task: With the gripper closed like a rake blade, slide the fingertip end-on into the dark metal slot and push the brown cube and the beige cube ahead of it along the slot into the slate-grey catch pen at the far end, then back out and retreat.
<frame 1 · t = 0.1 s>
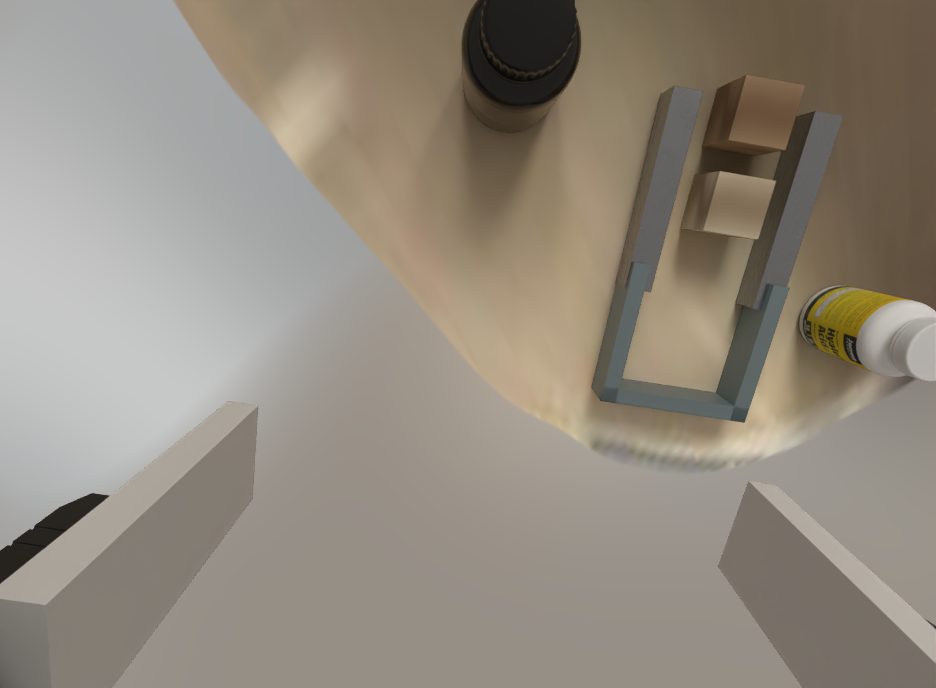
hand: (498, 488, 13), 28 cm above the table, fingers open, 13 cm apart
supplement bottle 2: (828, 317, 41), on the table
beige cube: (711, 206, 38), on the table
catch pen: (676, 336, 41), on the table
supplement bottle: (509, 83, 36), on the table
brown cube: (735, 123, 37), on the table
slot rails: (712, 206, 38), on the table
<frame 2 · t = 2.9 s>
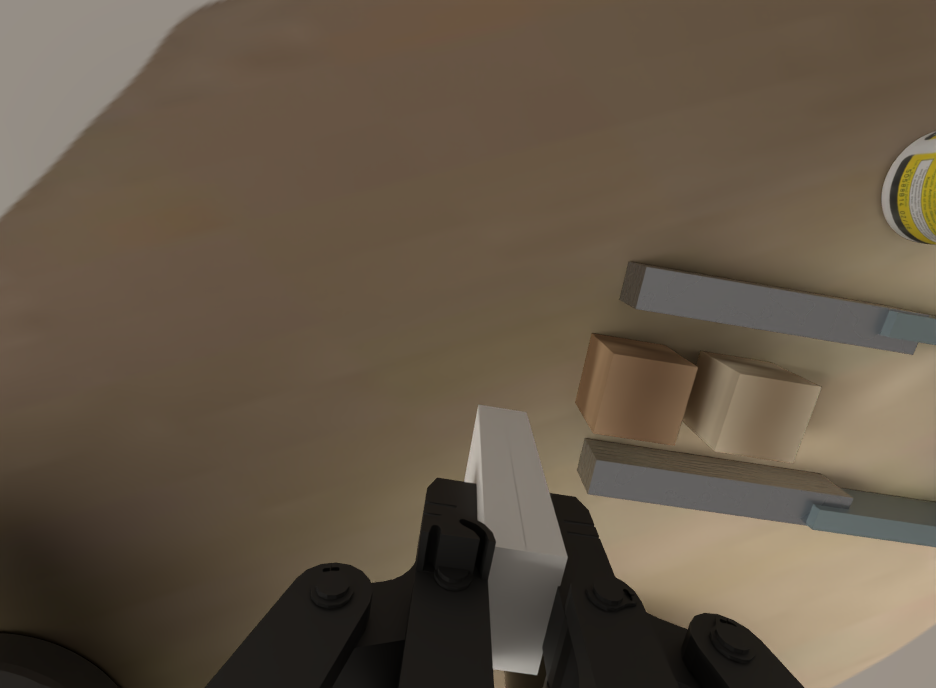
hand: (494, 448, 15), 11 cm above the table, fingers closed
supplement bottle 2: (927, 188, 25), on the table
beige cube: (723, 390, 27), on the table
catch pen: (904, 419, 28), on the table
supplement bottle: (553, 624, 31), on the table
brown cube: (618, 373, 27), on the table
slot rails: (725, 391, 27), on the table
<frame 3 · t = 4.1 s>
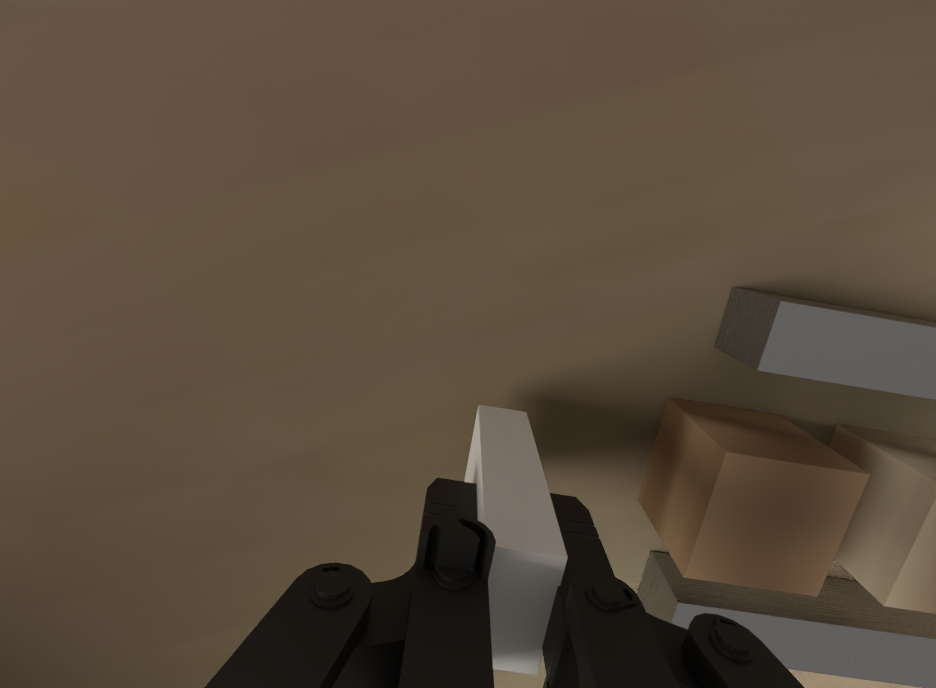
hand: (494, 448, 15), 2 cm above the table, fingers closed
beige cube: (867, 482, 18), on the table
brown cube: (706, 457, 18), on the table
slot rails: (870, 484, 18), on the table
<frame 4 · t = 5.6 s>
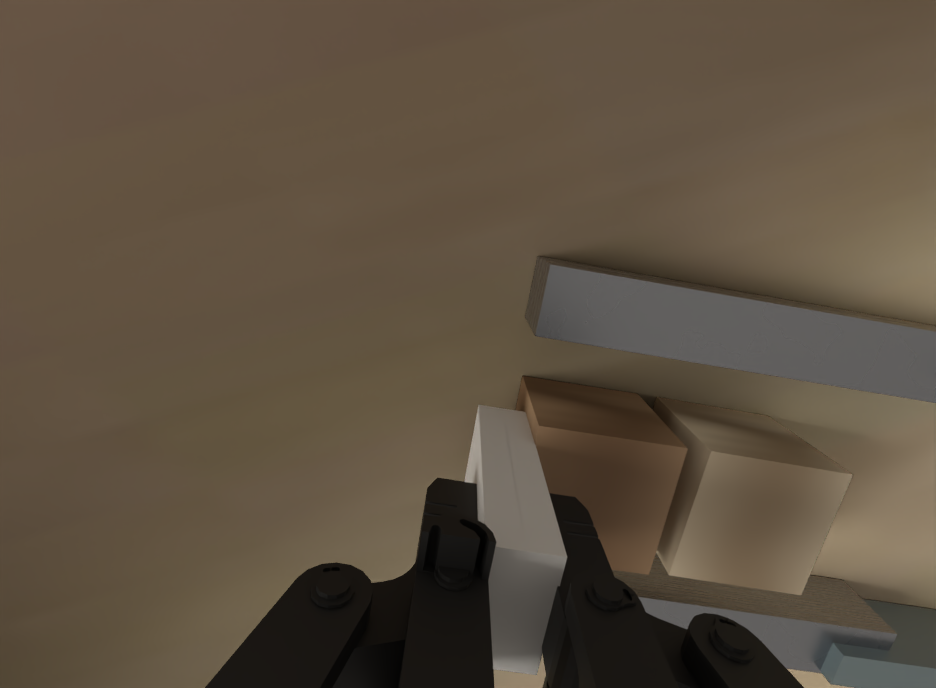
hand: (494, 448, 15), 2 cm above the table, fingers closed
beige cube: (694, 456, 18), on the table
brown cube: (567, 438, 17), on the table, touching gripper
slot rails: (696, 458, 18), on the table
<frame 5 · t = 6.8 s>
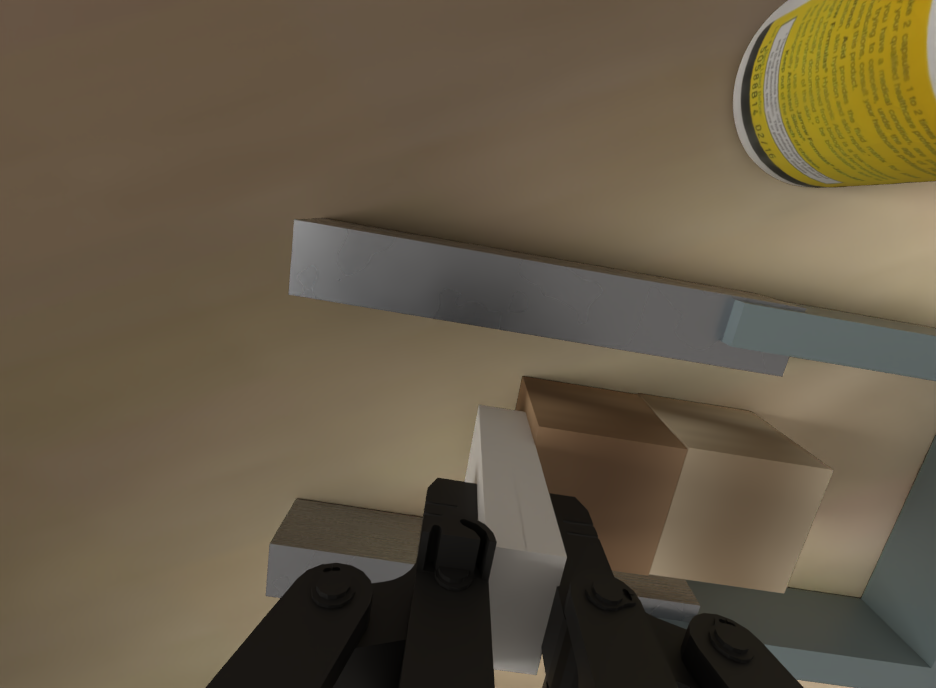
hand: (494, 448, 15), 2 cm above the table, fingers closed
supplement bottle 2: (815, 93, 15), on the table
beige cube: (678, 454, 17), on the table
catch pen: (795, 474, 18), on the table
brown cube: (567, 438, 17), on the table, touching gripper
slot rails: (506, 428, 17), on the table
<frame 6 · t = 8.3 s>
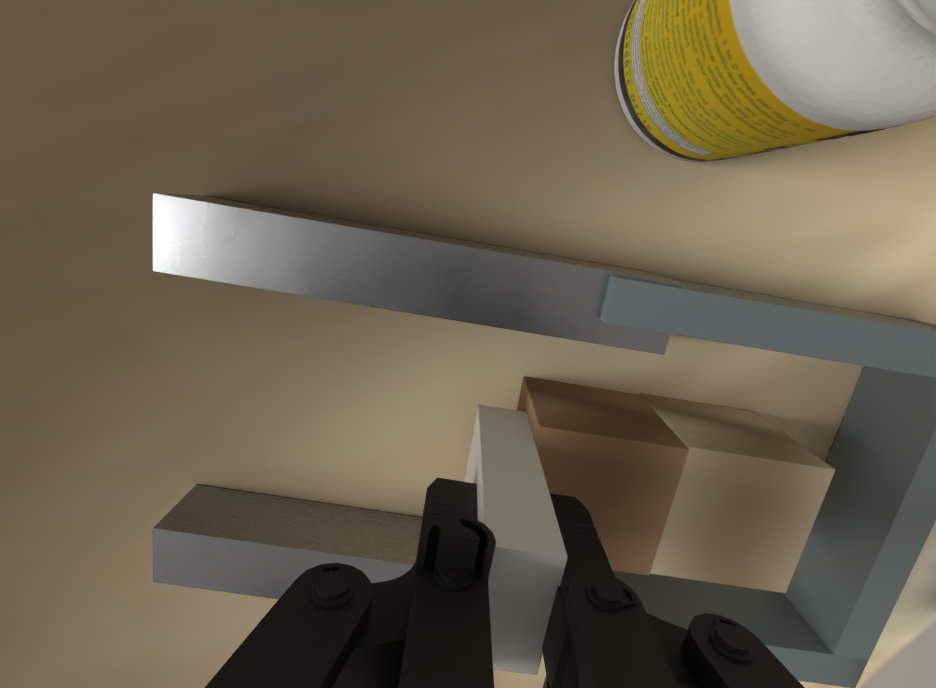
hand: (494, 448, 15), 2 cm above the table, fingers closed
supplement bottle 2: (702, 65, 14), on the table
beige cube: (679, 453, 17), on the table
catch pen: (703, 458, 17), on the table
brown cube: (568, 438, 17), on the table, touching gripper
slot rails: (405, 411, 17), on the table
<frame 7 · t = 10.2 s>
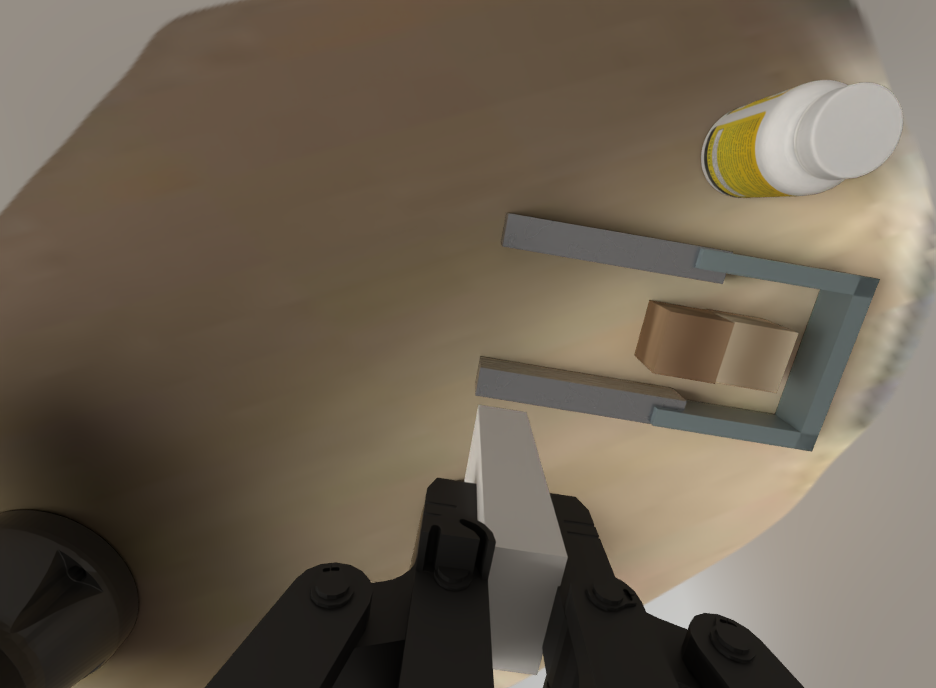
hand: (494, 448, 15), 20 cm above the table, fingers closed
supplement bottle 2: (740, 153, 31), on the table
beige cube: (725, 341, 35), on the table
catch pen: (737, 343, 35), on the table
brown cube: (669, 332, 35), on the table
slot rails: (589, 318, 34), on the table
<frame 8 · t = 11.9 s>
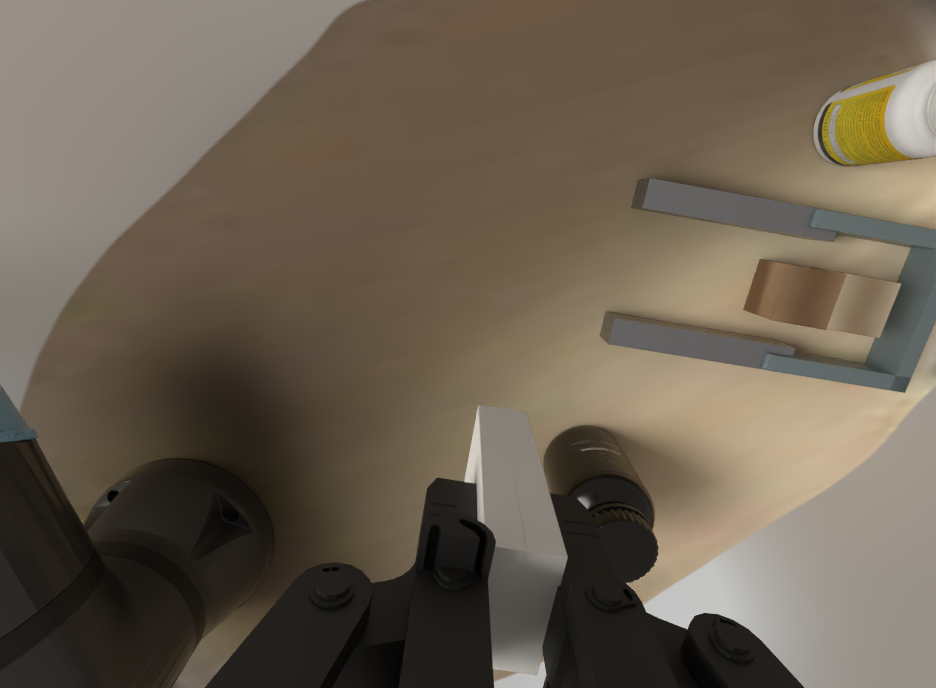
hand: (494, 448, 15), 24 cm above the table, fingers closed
supplement bottle 2: (846, 127, 36), on the table
beige cube: (824, 296, 39), on the table, touching brown cube
catch pen: (835, 298, 39), on the table
supplement bottle: (580, 458, 43), on the table
brown cube: (775, 289, 39), on the table, touching beige cube
slot rails: (706, 276, 38), on the table
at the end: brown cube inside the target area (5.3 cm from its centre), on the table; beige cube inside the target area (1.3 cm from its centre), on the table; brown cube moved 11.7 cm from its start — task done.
